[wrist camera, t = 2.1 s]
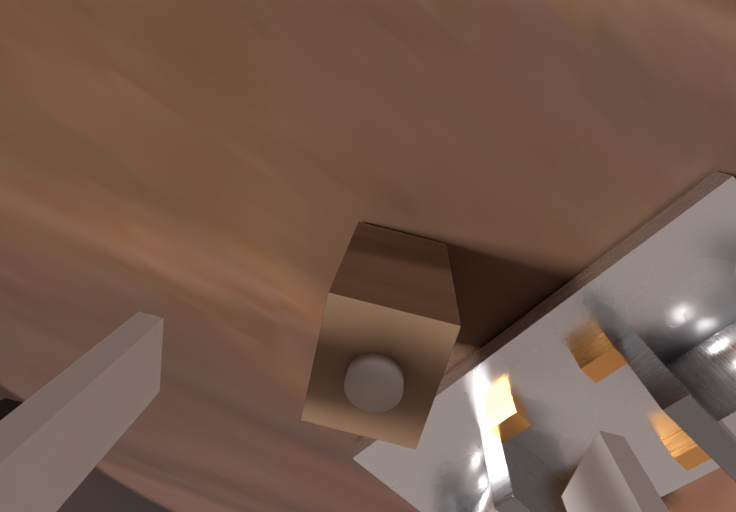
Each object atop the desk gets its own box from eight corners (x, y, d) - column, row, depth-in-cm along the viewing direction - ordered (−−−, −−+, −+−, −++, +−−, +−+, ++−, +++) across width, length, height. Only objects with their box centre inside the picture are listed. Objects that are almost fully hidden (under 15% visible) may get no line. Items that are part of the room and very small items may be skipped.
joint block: (358, 221, 19) (324, 301, 12) (446, 243, 19) (463, 337, 12) (337, 316, 21) (296, 433, 14) (416, 336, 21) (415, 464, 14)
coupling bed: (715, 170, 17) (835, 206, 12) (875, 361, 19) (1031, 456, 14) (355, 443, 24) (339, 534, 19) (500, 559, 26) (519, 666, 21)
